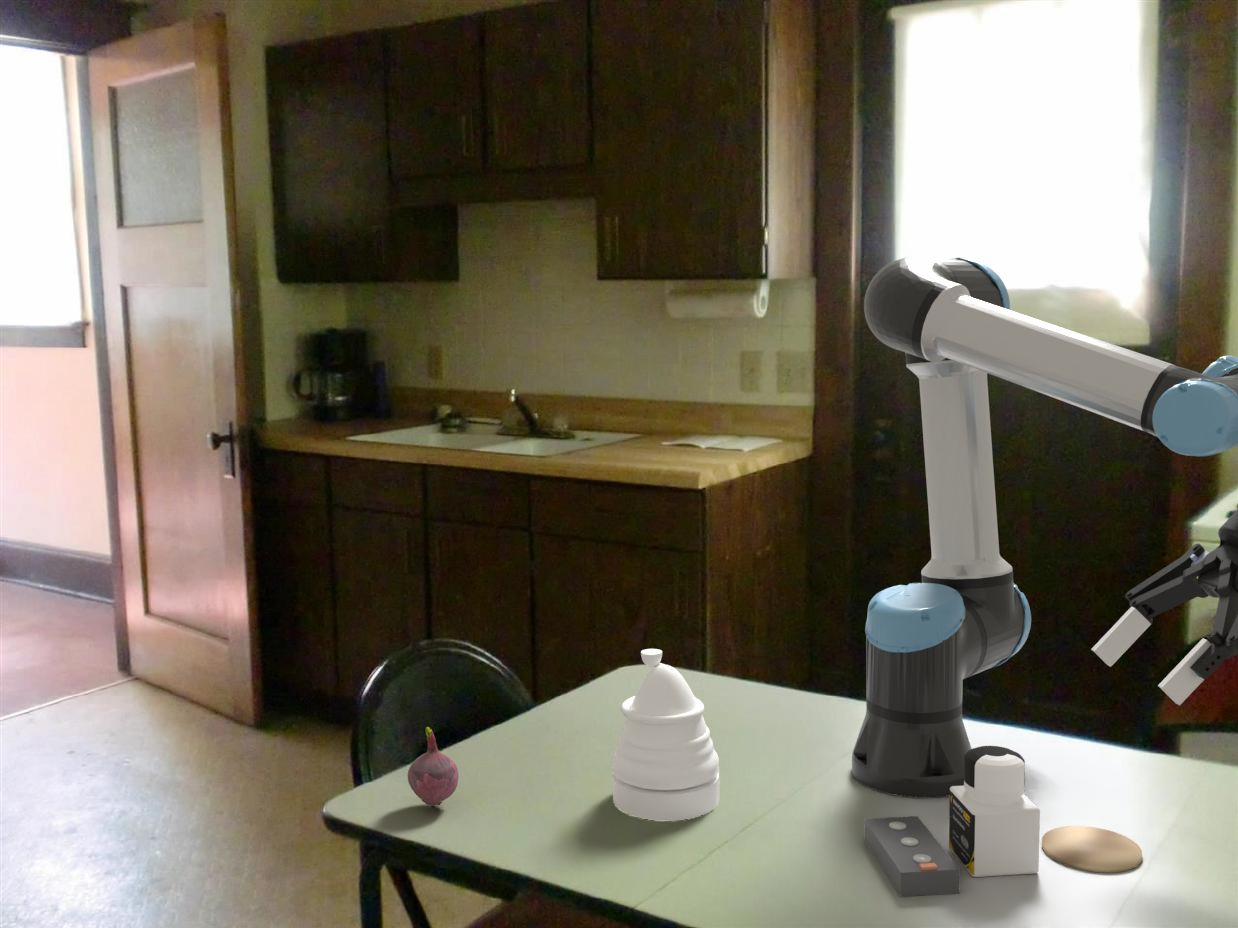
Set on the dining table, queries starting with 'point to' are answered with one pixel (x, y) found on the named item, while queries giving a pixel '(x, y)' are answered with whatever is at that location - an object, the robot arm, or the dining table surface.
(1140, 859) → the coaster
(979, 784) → the medicine bottle
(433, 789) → the vegetable
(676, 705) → the honey pot
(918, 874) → the power strip
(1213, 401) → the robot arm
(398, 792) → the dining table surface
